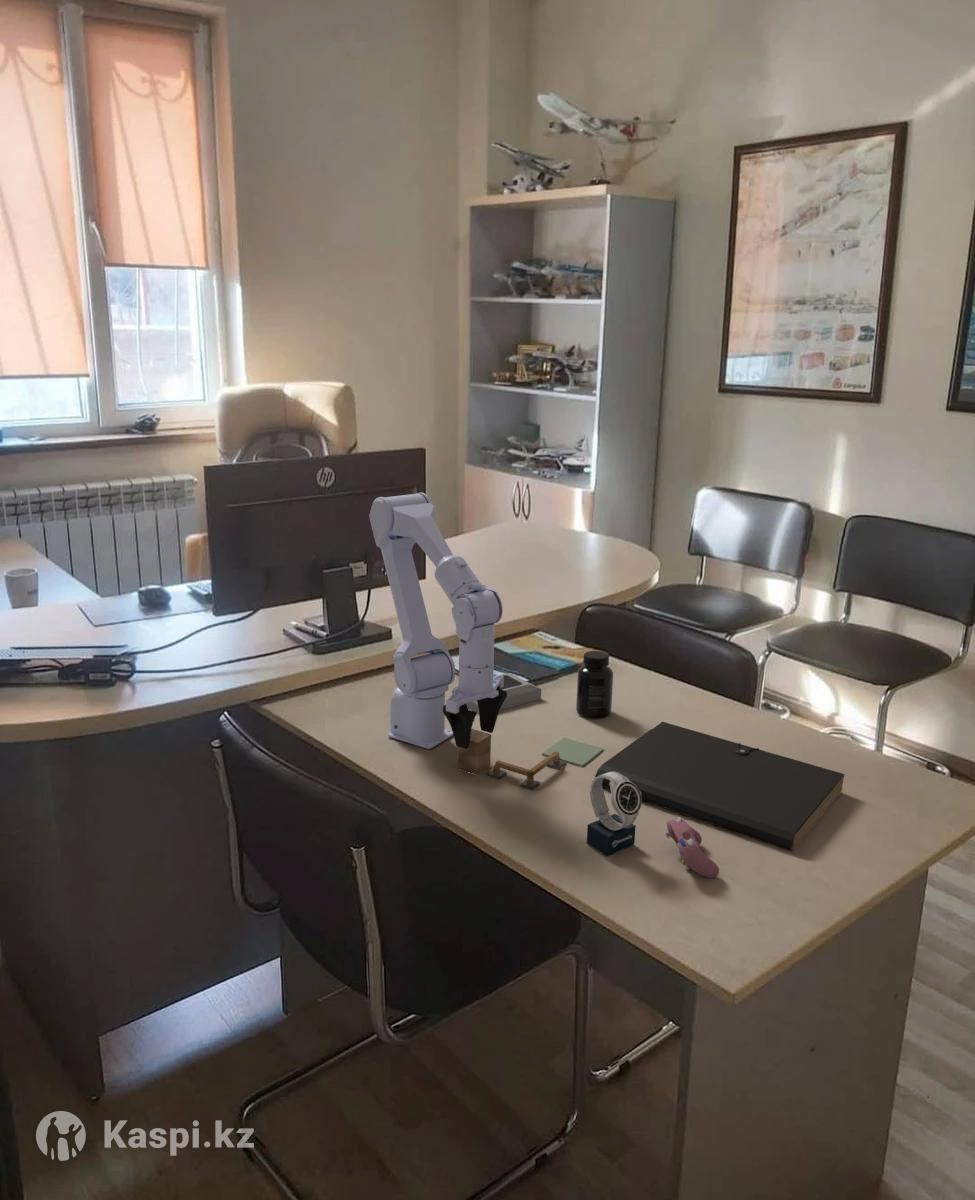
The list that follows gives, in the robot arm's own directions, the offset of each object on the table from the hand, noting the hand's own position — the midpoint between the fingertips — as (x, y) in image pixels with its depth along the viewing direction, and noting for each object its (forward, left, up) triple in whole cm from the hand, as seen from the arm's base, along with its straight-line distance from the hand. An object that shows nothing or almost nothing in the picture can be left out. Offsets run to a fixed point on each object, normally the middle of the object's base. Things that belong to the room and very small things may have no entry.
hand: (474, 738), depth 165 cm
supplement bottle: (+6, +33, -6) cm, 34 cm away
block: (0, 0, -5) cm, 5 cm away
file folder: (+37, +17, -6) cm, 41 cm away
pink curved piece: (+41, -7, -6) cm, 42 cm away
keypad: (-13, +28, -6) cm, 32 cm away
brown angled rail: (+8, +5, -5) cm, 10 cm away
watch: (+30, -9, -6) cm, 32 cm away
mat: (+11, +15, -5) cm, 19 cm away
